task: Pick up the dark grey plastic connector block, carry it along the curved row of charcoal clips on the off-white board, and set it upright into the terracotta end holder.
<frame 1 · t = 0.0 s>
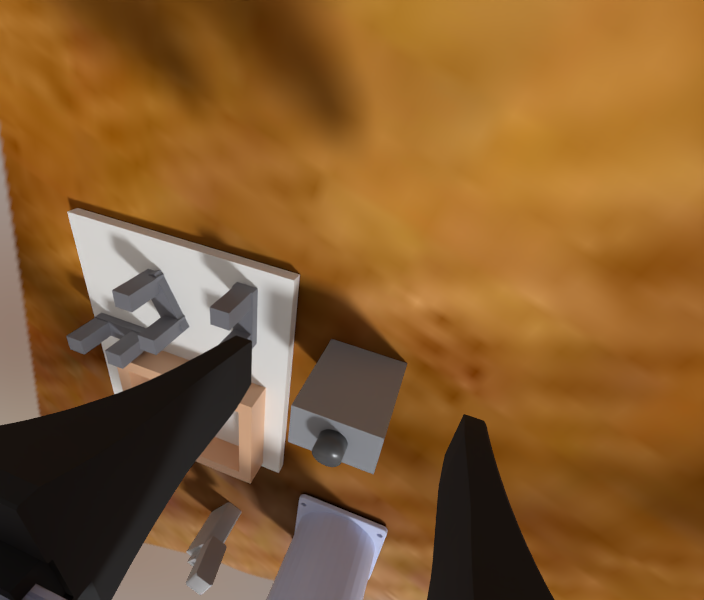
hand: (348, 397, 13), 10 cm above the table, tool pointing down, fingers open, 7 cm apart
end holder: (202, 404, 32), resting on route board
route board: (193, 352, 30), on the table
lighter: (234, 506, 41), on the table
connector: (364, 368, 26), on the table
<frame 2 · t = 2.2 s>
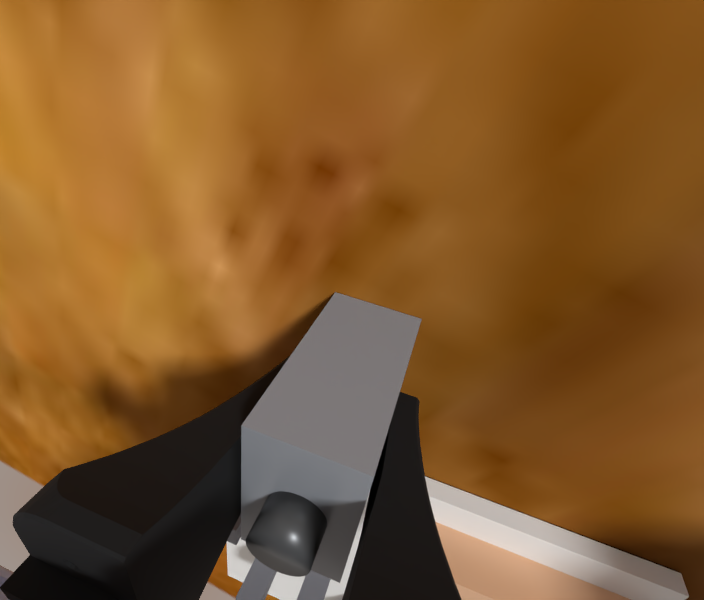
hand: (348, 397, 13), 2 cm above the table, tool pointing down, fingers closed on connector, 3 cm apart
route board: (393, 566, 21), on the table
connector: (364, 360, 15), on the table, touching gripper
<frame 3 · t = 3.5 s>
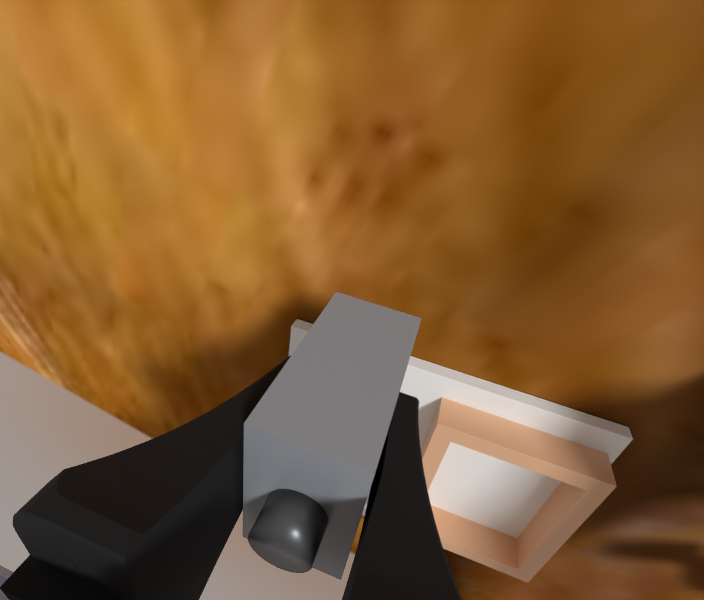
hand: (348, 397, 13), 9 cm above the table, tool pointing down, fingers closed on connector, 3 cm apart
end holder: (487, 481, 25), resting on route board
route board: (416, 454, 27), on the table
connector: (364, 360, 15), point 7 cm above the table, touching gripper
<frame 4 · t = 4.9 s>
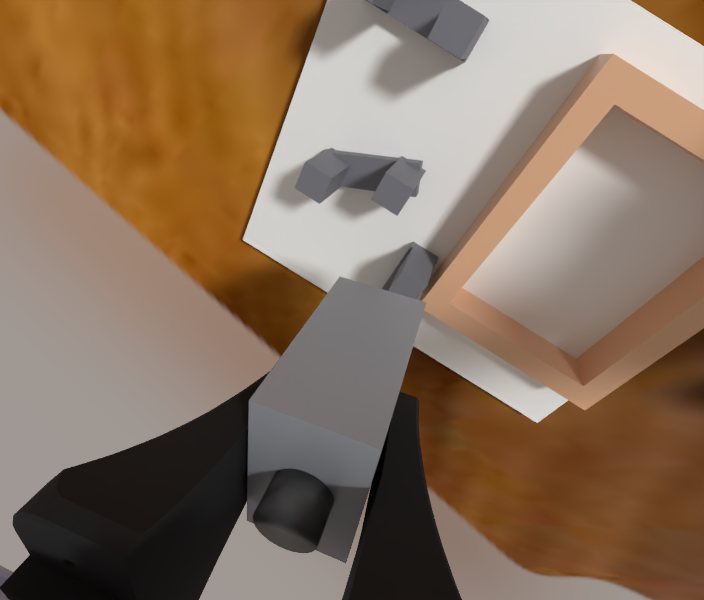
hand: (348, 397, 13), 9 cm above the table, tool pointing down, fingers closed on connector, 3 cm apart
end holder: (586, 249, 17), resting on route board
route board: (481, 206, 18), on the table
connector: (368, 346, 15), point 7 cm above the table, touching gripper
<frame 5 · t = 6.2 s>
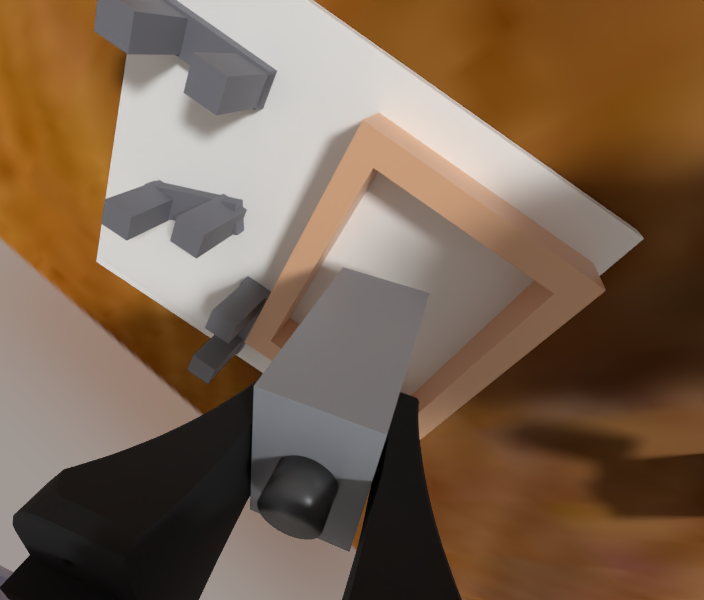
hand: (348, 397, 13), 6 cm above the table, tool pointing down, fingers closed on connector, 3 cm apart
end holder: (400, 296, 17), resting on route board
route board: (309, 245, 18), on the table
connector: (371, 337, 15), point 4 cm above the table, touching gripper
when the fingers open (4 cm above the table, at t = 7.5 s): connector stays where it is, resting on route board.
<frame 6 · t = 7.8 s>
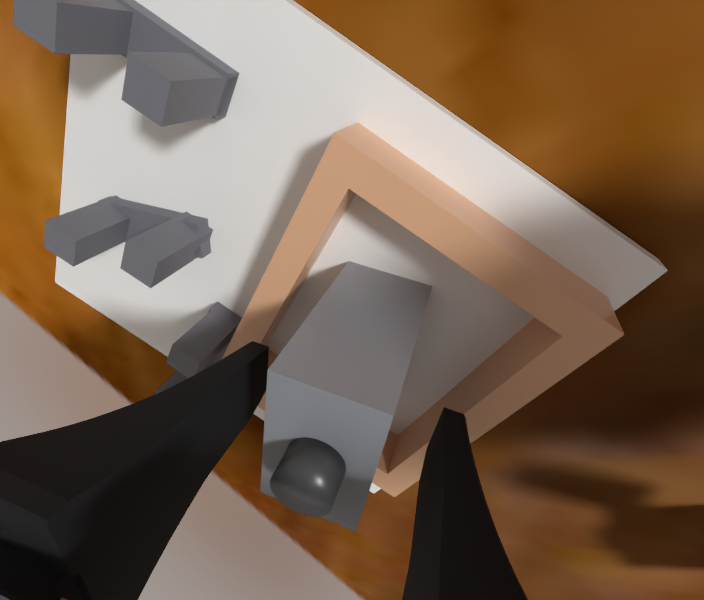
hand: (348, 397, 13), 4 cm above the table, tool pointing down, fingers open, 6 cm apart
end holder: (385, 327, 15), resting on route board
route board: (284, 269, 16), on the table
connector: (375, 329, 15), point 1 cm above the table, touching route board
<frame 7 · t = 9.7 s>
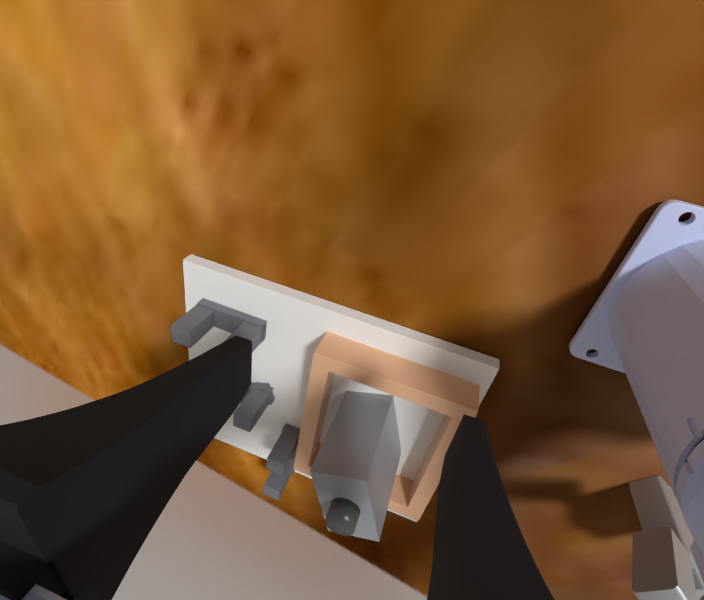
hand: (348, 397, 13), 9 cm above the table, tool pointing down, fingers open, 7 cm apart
end holder: (379, 420, 26), resting on route board
route board: (317, 397, 27), on the table
lighter: (647, 482, 23), on the table
connector: (374, 422, 26), point 1 cm above the table, touching route board
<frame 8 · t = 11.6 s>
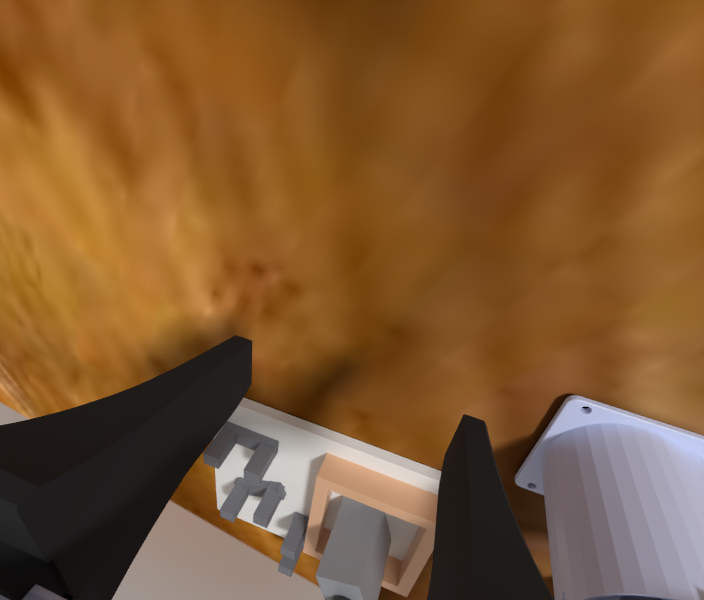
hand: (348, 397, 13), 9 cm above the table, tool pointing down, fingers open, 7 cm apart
end holder: (372, 516, 31), resting on route board
route board: (321, 492, 33), on the table
connector: (368, 517, 31), point 1 cm above the table, touching route board
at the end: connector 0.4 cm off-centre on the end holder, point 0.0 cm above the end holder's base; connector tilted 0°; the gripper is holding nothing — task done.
